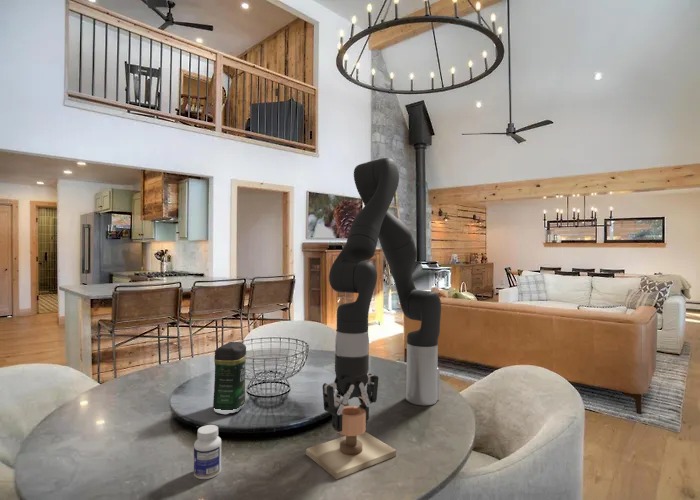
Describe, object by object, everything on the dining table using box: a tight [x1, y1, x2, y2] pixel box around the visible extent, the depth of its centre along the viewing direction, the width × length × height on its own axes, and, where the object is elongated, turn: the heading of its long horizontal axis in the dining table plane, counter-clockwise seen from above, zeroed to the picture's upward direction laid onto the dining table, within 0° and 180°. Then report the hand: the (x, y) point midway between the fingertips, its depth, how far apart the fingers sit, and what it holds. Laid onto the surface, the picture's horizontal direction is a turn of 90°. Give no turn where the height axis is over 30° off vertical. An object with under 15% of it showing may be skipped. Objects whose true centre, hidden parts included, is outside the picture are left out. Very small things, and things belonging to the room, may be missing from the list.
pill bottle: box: [193, 424, 222, 480], centre depth 82 cm, size 5×5×9 cm
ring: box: [336, 405, 367, 436], centre depth 89 cm, size 6×6×4 cm
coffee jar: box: [212, 341, 247, 410], centre depth 114 cm, size 10×8×19 cm
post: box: [340, 436, 362, 455], centre depth 89 cm, size 5×5×7 cm
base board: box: [305, 431, 397, 480], centre depth 89 cm, size 16×12×1 cm
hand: (350, 426), depth 89 cm, fingers closed on ring, 6 cm apart
